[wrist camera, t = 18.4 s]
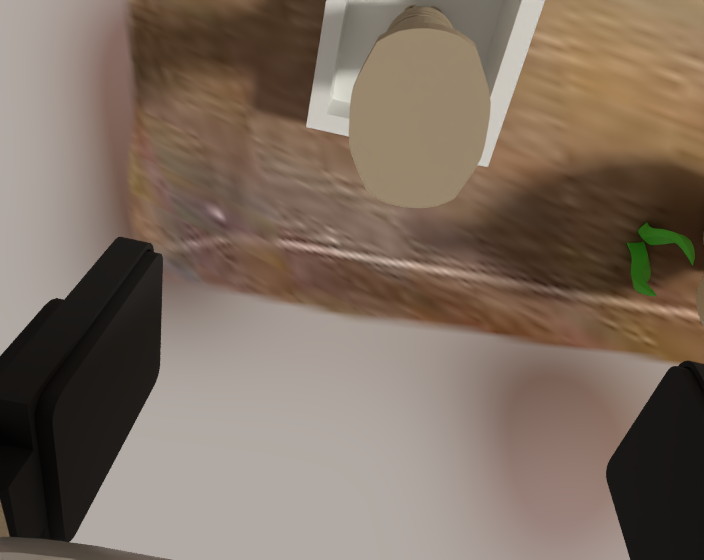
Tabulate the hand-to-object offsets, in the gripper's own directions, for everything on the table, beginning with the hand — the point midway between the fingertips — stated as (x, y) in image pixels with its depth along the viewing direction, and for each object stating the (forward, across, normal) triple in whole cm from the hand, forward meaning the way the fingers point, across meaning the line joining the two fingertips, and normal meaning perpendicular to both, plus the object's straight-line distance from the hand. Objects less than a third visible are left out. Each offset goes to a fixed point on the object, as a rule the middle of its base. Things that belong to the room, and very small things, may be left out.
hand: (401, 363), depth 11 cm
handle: (+28, 0, 0) cm, 28 cm away
